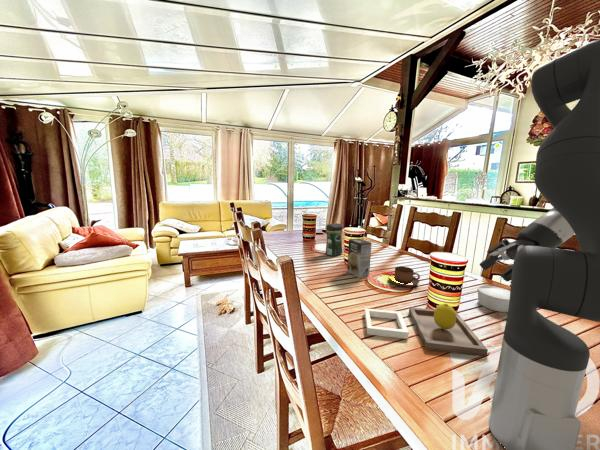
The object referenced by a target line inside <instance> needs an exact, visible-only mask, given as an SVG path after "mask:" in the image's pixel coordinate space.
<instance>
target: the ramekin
mask: <svg viewBox="0 0 600 450" xmlns="http://www.w3.org/2000/svg"><path fill="white" fill-rule="evenodd" d="M476 291H477V300H478V302H479V304H480V306H483V307H484V308H487V309H488V310H489V309H490V310H492V311H495V312H499V313H508V308H509V300H510V290H509V289H506V288H504V287H503V288H502V287H499V286H495V285H479V286H478V287H477V289H476Z"/></svg>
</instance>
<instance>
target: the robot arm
mask: <svg viewBox="0 0 600 450" xmlns="http://www.w3.org/2000/svg"><path fill="white" fill-rule="evenodd" d="M530 86H531V87H530V88H531V92H532V97H533V99H534V101H535V103H536V105H537V106H538V108H539V110H540V111H541V112H542V114H543V116H544V117H545V118H546V120H547V121H548V122H549V124H550V125H551V127H552V128H553V129H552V130H551V131H550V132H549V133H548V135H546V137H545V138H544V139H543V141H542V142H541V144H540V145H539V147H538V149H537V152H536V156H535V158H536V159H535V164H534V165H535V167H534V177H533V180H534V184H535V187H536V188H537V190H538V191H539V193H540V194H541V195H542V196H543V197H544V199H545V200H546V201H547V202H548V203H549V204H550V205H551V206H552V208H551V209H550V210H549V211H547V212H546V213H543V214H541V215H540V216H539V217H537V218H536V219H535V220H534V221H532V222H531V223H529V224H528V225H527V226H526V227H524V228H523V229H522V230H520V231H519V232H518V233H517V235H516V237H517V238H516V240H514V241H511V242H510V241H509V240H508V239H507V238H504V239H502V240H501V241H499V242H498V243H497V244H495V245H494V246H492V247H490V248H489V249H488V250H487V254H488V255H489V256H488V257H486V258H485V259H484V260H482V261H481V262H480V263H479V266H480V267H481V268H482V269H483V270H485V271H487V270H488V269H490V268H491V267H492V266H494V265H495V264H497V262H500V261H503V260H504V261H509V260H513V264H512V265H511V266H510V267H508V268H507V269H506V270H504V271H503V272H502V273H500V277H501V278H502V279H503V281H505V282H509V281H510V290H509V291H510V300H509V308H508V312H507V315H506V320H505V321H506V322H505V326H504V331H503V338H502V342H501V350H500V352H499V357H498V358H499V360H498V363H497V364H498V366H497V371H496V377H495V381H494V383H495V384H494V388H493V393H492V400H491V408H490V411H489V412H490V414H489V418H488V427H489V430H490V432H491V434H492V436H493V435H494V436H493V438H494V439H495V438H496V439H497V440H498V441H497V440H496V439H495V440H496V441H497V443H498V444H499V443H501V444H502V446H504V447H505V448H506V450H575V449H576V445H577V442H578V438H579V434H580V430H581V426H582V423H581V420H580V419H578V418H577V416H576V412H577V408H578V405H579V400H580V396H581V391H582V387H583V384H584V379H585V375H586V371H587V368H588V365H589V362H590V357H591V354H590V353H591V352H590V348H589V346H588V345H587V343H586V342H585V341H584V340H583V339H582V338H580V336H579V335H577V334H575V333H574V332H572V331H570V330H568V329H567V328H565V327H563V326H561V325H559V324H558V323H555V322H554V321H552V320H550V319H549V318H547V317H545V316H544V315H542V313H540V311H538V310H537V309H542V310H545V311H550V312H554V313H558V314H562V315H566V316H570V317H575V318H579V319H582V320H583V319H584V320H588V321H593V322H599V323H600V39H596V40H594V41H591V42H589V43H585V44H584V45H581V46H580V47H577V48H575V49H573V50H571V51H569V52H567V53H565V54H563V55H560V56H558V57H556V58H554V59H552V60H549V61H548V62H545V63H543V64H542V65H540V66H538V67H537V68H536V69H534V71H533V73H532V76H531V79H530ZM576 101H577V103H576V104H575V106H574V107H573V108H572V110H571V109H570V108H569V106H567V104H570V103H573V102H576ZM574 235H575V237H576V239H577V243H578V246H579V249H580V251H579V250H572V249H564V248H558V247H559V246H561V245H562V244H563V243H565V242H566V241H568V240H569V239H570V238H572V237H573V236H574ZM502 446H501V447H502Z"/></svg>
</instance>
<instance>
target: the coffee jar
mask: <svg viewBox="0 0 600 450" xmlns="http://www.w3.org/2000/svg"><path fill="white" fill-rule="evenodd" d="M325 227H326V228H325V232H326V245H325V254H326V255H327V256H328V257H329V256H330V257H331V256H332V257H336V256H340V255H342V254H343V243H342V235H343V224H341V223H339V222H337V223H336V222H335V223H329V224H327V225H326V226H325Z"/></svg>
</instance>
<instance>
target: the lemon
mask: <svg viewBox="0 0 600 450" xmlns="http://www.w3.org/2000/svg"><path fill="white" fill-rule="evenodd" d="M434 310H435V311H434V320H435V323H436V324H437V325H438V326H439V327H440V328H442V329H443V330H445V329H451V328H452V327H454V325H455V323H456V312H457V311H456V310H455V309H454V308H453V306H451V305H449V304H448V303H440V304H439V305H437V306H436V308H435V309H434Z"/></svg>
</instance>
